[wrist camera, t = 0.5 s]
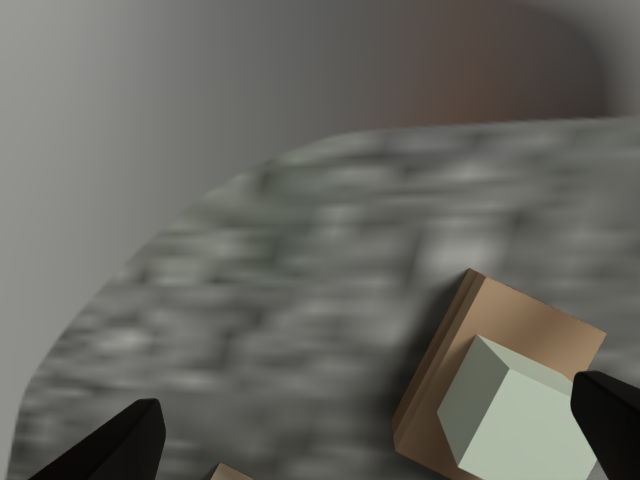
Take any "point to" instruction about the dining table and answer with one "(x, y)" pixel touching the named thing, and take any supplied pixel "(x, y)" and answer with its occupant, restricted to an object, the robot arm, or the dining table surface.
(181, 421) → the dining table surface
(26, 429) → the dining table surface
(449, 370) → the walnut pallet
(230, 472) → the birch dock
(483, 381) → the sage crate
